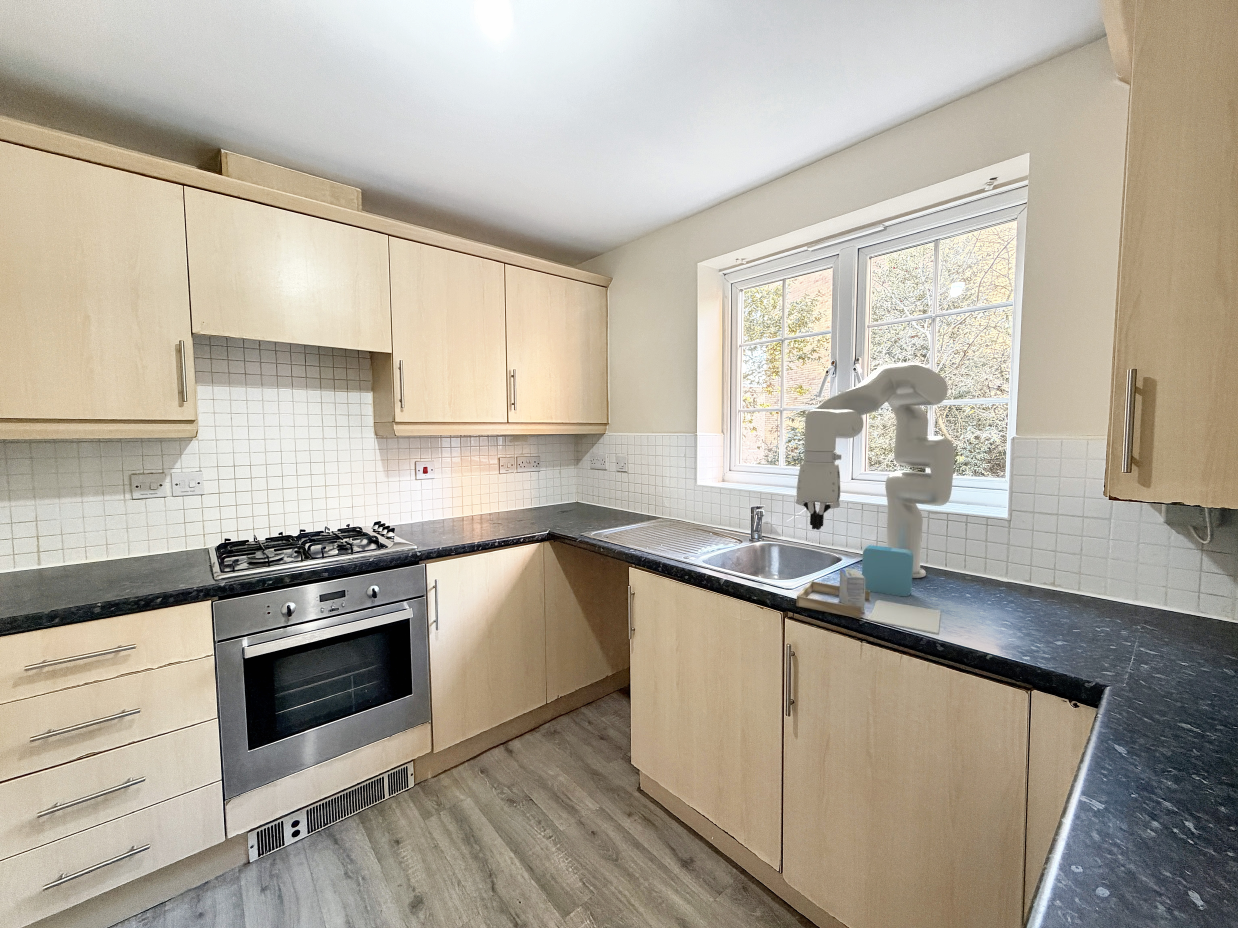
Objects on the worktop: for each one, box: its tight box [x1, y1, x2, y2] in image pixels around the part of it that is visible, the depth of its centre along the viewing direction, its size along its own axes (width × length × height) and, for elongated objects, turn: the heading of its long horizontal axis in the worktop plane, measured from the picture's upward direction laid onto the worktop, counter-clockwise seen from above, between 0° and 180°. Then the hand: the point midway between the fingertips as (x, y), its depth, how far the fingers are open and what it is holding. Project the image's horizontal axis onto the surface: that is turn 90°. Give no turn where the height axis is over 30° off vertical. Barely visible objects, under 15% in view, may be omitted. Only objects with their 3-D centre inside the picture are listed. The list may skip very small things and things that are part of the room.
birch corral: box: [795, 580, 871, 619], centre depth 133 cm, size 15×15×2 cm
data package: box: [861, 544, 914, 597], centre depth 142 cm, size 12×4×12 cm, turn 57°
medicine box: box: [838, 568, 866, 613], centre depth 130 cm, size 8×4×9 cm, turn 168°
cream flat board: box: [867, 599, 941, 635], centre depth 124 cm, size 16×14×1 cm
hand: (816, 528), depth 134 cm, fingers closed
